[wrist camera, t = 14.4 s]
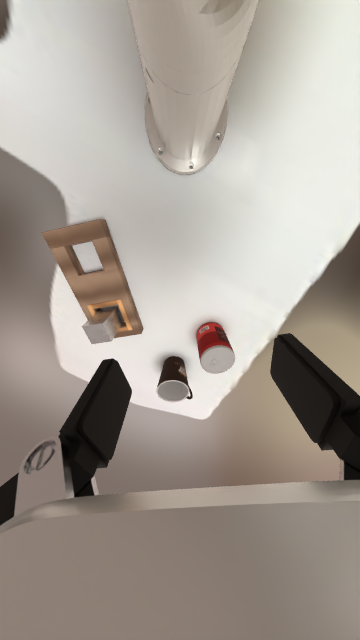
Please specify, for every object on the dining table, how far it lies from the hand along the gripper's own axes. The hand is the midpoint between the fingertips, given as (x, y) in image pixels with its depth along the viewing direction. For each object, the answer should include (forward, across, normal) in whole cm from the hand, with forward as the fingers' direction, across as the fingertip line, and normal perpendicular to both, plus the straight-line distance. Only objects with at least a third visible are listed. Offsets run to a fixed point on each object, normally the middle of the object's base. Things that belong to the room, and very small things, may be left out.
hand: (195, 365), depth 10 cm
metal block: (+30, +20, +8) cm, 37 cm away
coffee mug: (+31, +8, +30) cm, 44 cm away
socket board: (+30, +20, +1) cm, 36 cm away
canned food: (+31, -4, +19) cm, 36 cm away
